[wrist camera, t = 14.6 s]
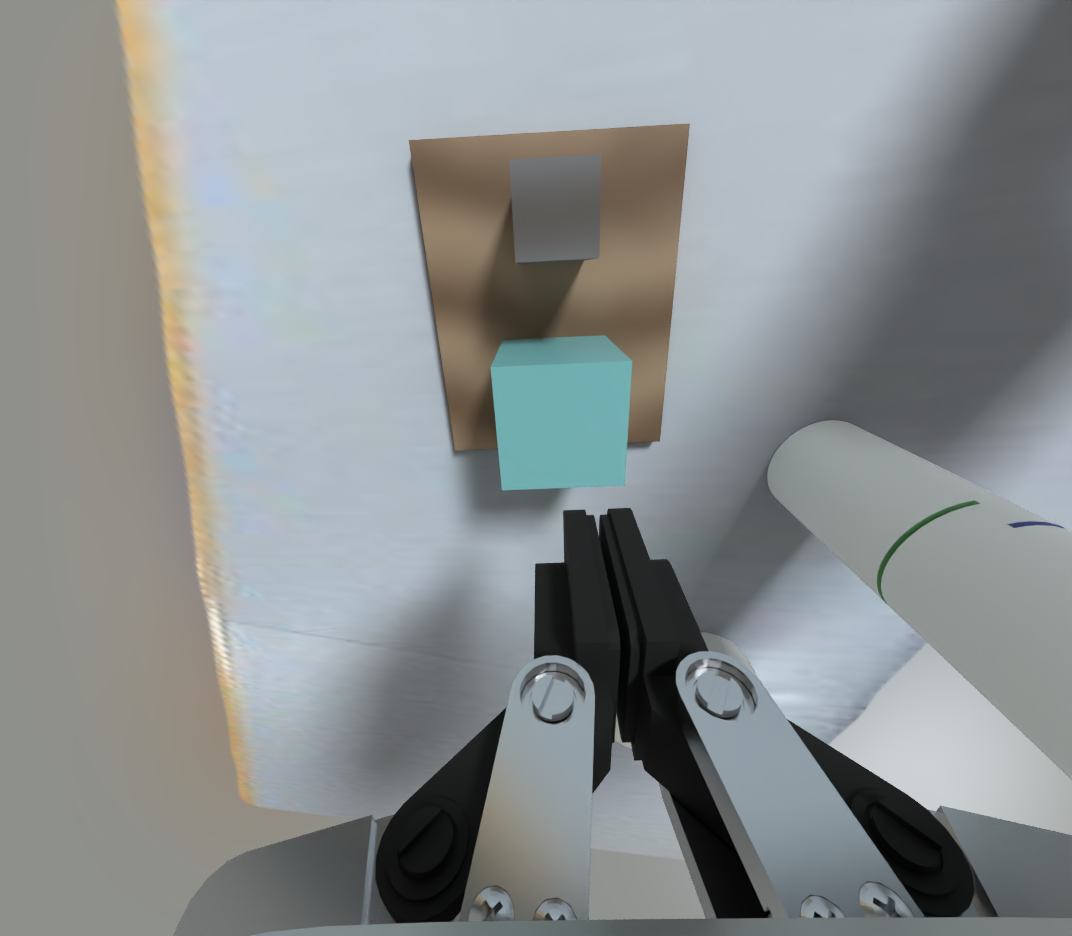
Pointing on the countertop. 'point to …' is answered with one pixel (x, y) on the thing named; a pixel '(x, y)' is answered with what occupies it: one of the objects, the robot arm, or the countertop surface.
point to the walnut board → (553, 289)
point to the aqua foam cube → (561, 412)
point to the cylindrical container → (946, 567)
